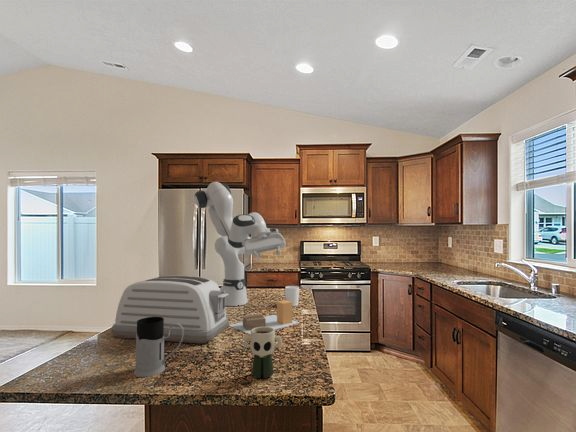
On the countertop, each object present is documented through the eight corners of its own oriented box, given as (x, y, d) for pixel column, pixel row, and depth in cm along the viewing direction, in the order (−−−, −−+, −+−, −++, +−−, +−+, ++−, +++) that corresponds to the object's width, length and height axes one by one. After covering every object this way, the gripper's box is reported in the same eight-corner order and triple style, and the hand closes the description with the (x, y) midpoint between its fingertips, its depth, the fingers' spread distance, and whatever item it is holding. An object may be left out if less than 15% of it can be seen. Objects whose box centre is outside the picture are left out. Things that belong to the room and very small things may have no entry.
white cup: (293, 307, 176) (293, 288, 176) (282, 305, 180) (282, 287, 181) (301, 304, 182) (301, 286, 182) (290, 302, 187) (290, 285, 187)
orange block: (276, 321, 144) (276, 301, 145) (286, 320, 147) (286, 300, 148) (283, 324, 140) (283, 303, 141) (292, 322, 143) (292, 302, 144)
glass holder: (140, 364, 101) (141, 316, 102) (186, 363, 102) (187, 315, 103) (128, 377, 93) (129, 324, 93) (179, 375, 94) (179, 323, 94)
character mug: (242, 381, 90) (242, 334, 91) (245, 370, 97) (245, 326, 98) (281, 380, 90) (281, 333, 91) (281, 369, 97) (281, 326, 98)
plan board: (228, 327, 139) (228, 325, 139) (274, 316, 157) (274, 314, 157) (253, 338, 126) (253, 335, 126) (300, 324, 143) (300, 322, 143)
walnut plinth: (242, 325, 140) (242, 315, 140) (260, 323, 142) (260, 314, 143) (246, 330, 132) (246, 320, 132) (265, 328, 135) (265, 318, 135)
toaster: (213, 346, 117) (214, 284, 118) (107, 338, 126) (108, 281, 127) (236, 327, 140) (236, 275, 140) (144, 322, 149) (145, 273, 150)
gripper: (240, 235, 157) (247, 256, 147) (280, 228, 162) (289, 247, 152) (241, 245, 161) (247, 265, 151) (280, 237, 166) (288, 256, 157)
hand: (268, 256), depth 152 cm, fingers open, 8 cm apart
